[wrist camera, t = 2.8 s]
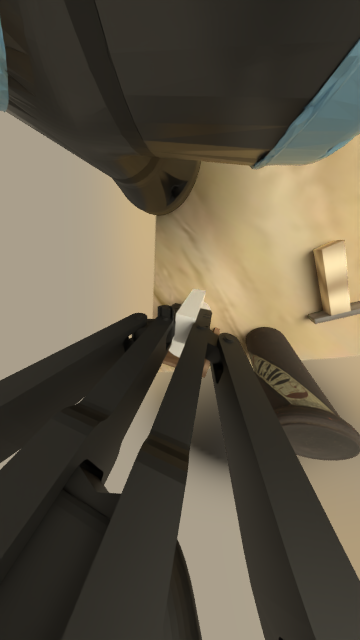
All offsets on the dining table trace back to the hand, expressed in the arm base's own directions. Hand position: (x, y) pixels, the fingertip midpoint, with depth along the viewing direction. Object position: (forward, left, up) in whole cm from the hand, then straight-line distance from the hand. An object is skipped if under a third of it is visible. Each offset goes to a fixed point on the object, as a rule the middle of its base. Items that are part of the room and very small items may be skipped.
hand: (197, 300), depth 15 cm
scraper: (-3, +21, -15) cm, 26 cm away
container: (+12, +17, -15) cm, 26 cm away
